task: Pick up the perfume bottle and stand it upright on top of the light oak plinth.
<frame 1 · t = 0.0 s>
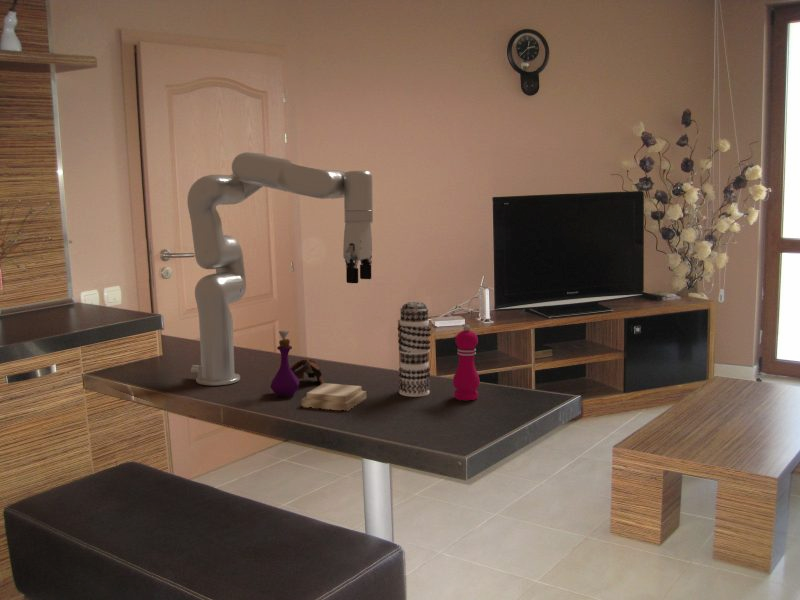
hand: (359, 280, 210), 31 cm above the table, tool pointing down, fingers open, 9 cm apart
pottery mug: (307, 383, 226), on the table
pepper mill: (466, 398, 209), on the table
perfume bottle: (285, 395, 213), on the table
plinth: (334, 402, 205), on the table
decorative candle: (414, 393, 215), on the table
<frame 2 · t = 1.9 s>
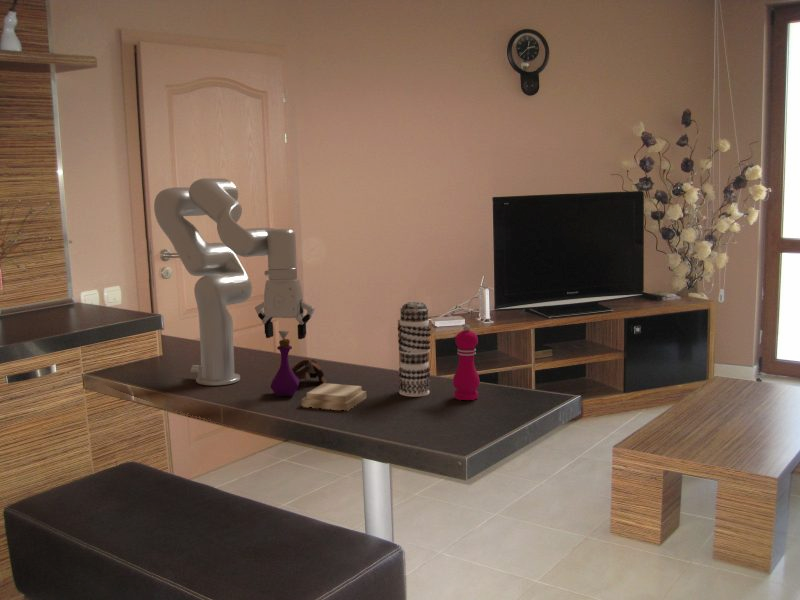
hand: (285, 337, 211), 16 cm above the table, tool pointing down, fingers open, 9 cm apart
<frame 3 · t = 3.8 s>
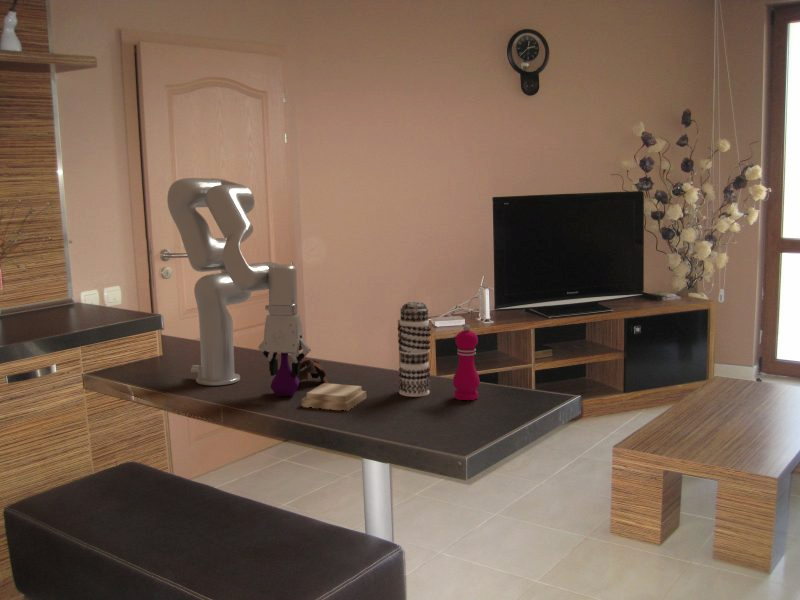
hand: (284, 374, 213), 6 cm above the table, tool pointing down, fingers closed on perfume bottle, 5 cm apart
perfume bottle: (285, 395, 213), on the table, touching gripper
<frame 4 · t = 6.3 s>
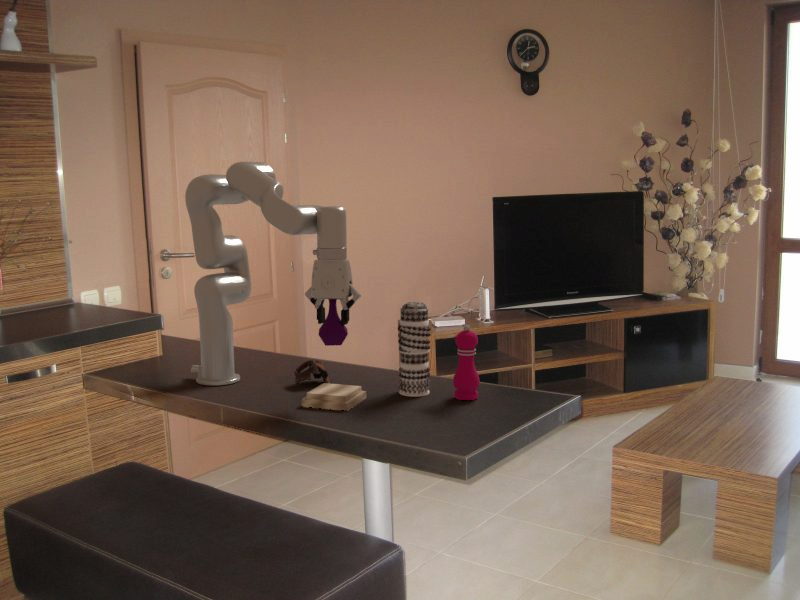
hand: (333, 323, 203), 21 cm above the table, tool pointing down, fingers closed on perfume bottle, 5 cm apart
perfume bottle: (333, 344, 203), point 16 cm above the table, touching gripper
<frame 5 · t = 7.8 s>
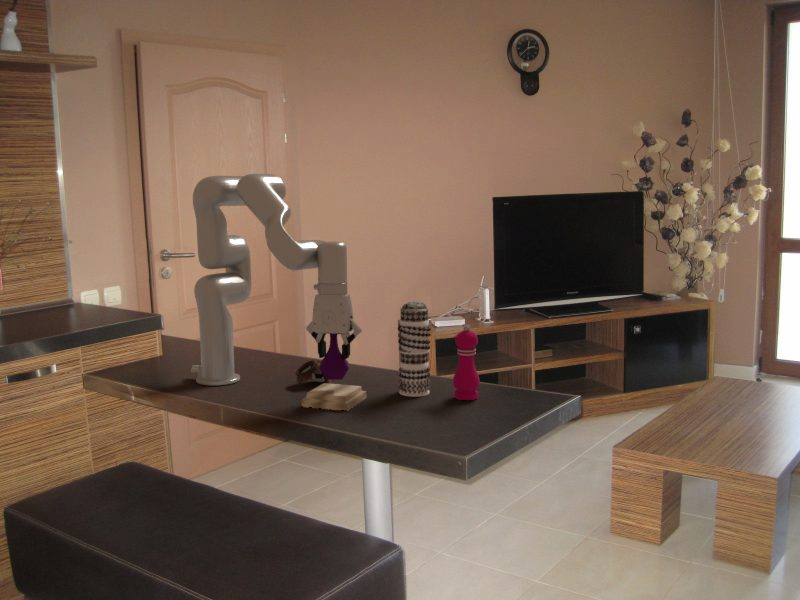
hand: (334, 357, 204), 12 cm above the table, tool pointing down, fingers closed on perfume bottle, 5 cm apart
perfume bottle: (334, 378, 205), point 7 cm above the table, touching gripper
when the fingers open (10 cm above the table, at t = 9.1 s): perfume bottle drops 1 cm, resting on plinth.
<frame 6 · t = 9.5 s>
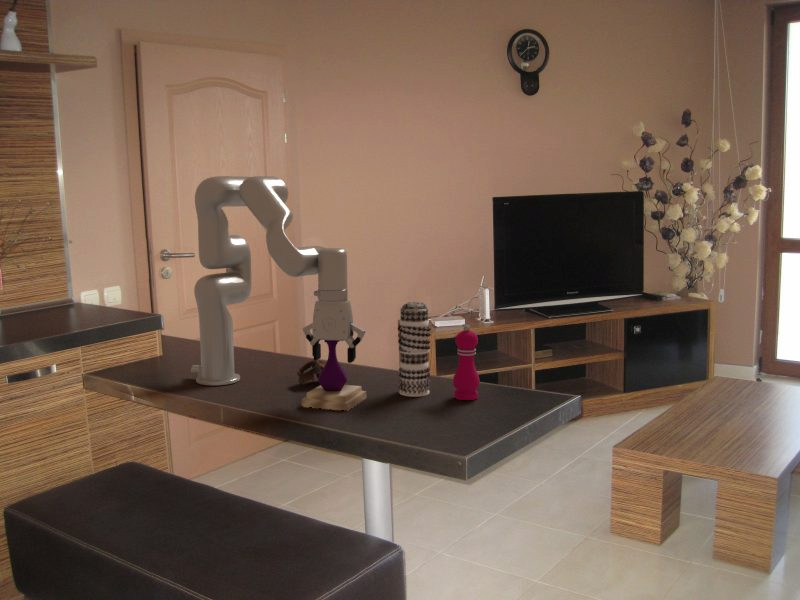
hand: (334, 360, 204), 11 cm above the table, tool pointing down, fingers open, 9 cm apart
perfume bottle: (333, 390, 205), point 3 cm above the table, touching plinth
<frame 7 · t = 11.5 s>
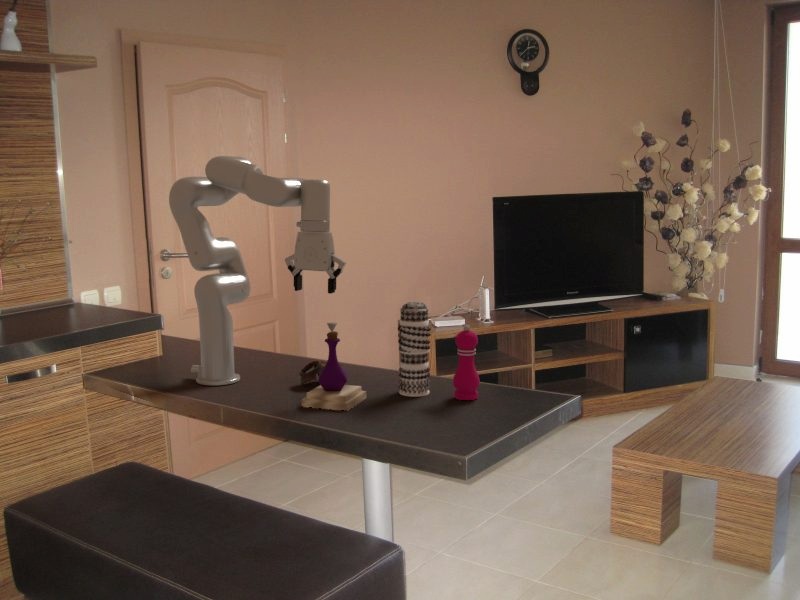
hand: (314, 291, 207), 29 cm above the table, tool pointing down, fingers open, 9 cm apart
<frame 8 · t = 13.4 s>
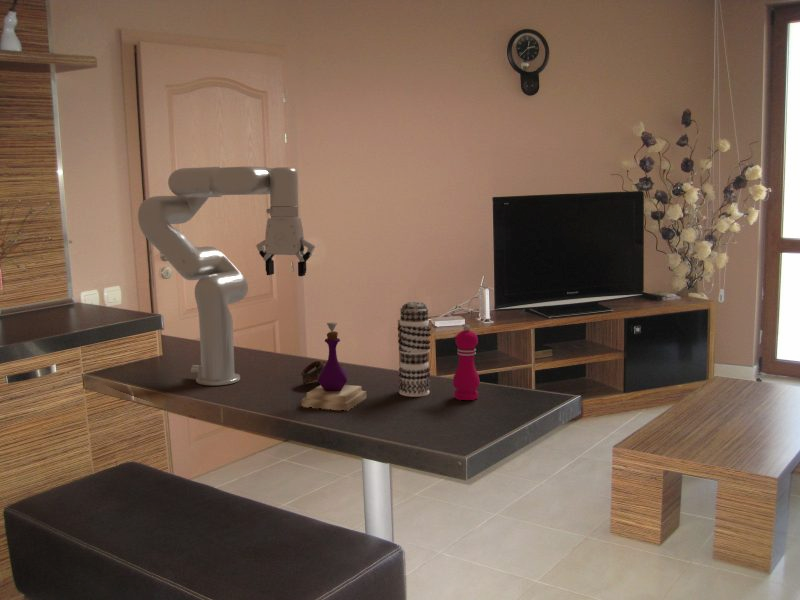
hand: (285, 275, 215), 32 cm above the table, tool pointing down, fingers open, 9 cm apart
at the end: perfume bottle inside the target area on the plinth (0.4 cm from its centre), point 3.3 cm above the plinth's base; perfume bottle tilted 0°; the gripper is holding nothing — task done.
